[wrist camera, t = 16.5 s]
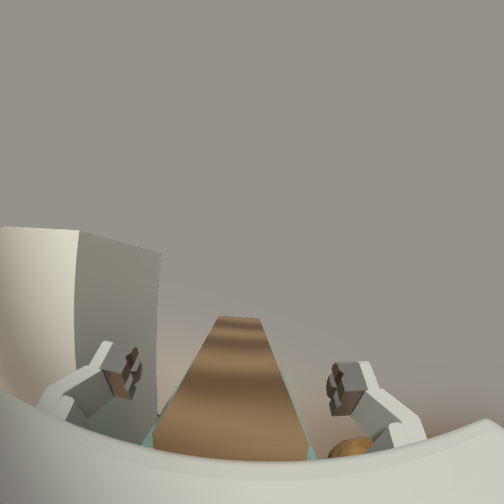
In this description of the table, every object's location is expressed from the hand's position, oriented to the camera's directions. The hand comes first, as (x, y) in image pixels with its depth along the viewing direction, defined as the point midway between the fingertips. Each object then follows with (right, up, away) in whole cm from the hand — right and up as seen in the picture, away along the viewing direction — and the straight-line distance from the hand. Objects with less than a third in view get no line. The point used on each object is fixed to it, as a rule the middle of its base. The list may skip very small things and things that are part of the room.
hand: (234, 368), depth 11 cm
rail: (-1, -5, +6) cm, 8 cm away
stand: (-18, -20, +11) cm, 29 cm away
